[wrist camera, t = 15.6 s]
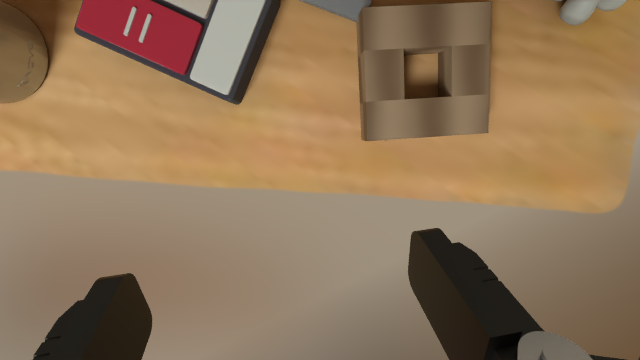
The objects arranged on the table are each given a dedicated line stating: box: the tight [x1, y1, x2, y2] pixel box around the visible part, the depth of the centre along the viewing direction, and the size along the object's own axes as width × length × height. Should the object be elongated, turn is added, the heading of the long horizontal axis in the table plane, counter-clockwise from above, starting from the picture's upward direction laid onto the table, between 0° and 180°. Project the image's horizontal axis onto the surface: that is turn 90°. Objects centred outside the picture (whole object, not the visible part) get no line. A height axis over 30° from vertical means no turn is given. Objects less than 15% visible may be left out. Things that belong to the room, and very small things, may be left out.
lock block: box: [357, 2, 491, 141], centre depth 32 cm, size 12×12×3 cm
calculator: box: [74, 0, 280, 104], centre depth 30 cm, size 11×4×15 cm
